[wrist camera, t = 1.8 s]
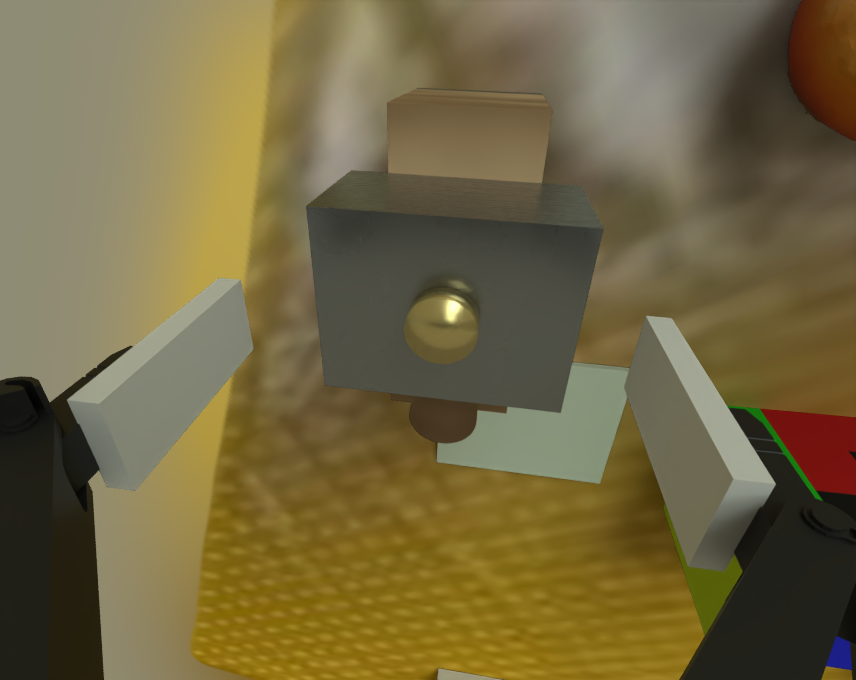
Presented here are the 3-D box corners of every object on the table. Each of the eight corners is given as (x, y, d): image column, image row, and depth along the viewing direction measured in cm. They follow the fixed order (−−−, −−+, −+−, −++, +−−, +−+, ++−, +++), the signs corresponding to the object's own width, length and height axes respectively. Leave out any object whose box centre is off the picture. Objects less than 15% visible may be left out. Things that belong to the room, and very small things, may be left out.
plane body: (418, 88, 24) (366, 112, 15) (542, 94, 23) (560, 123, 14) (413, 332, 31) (377, 439, 23) (507, 341, 30) (505, 456, 22)
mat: (633, 368, 30) (635, 372, 30) (598, 479, 35) (599, 483, 35) (443, 348, 31) (443, 351, 31) (437, 458, 37) (436, 462, 36)
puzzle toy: (807, 523, 35) (902, 677, 26) (662, 507, 36) (709, 648, 28) (875, 418, 29) (1022, 568, 21) (703, 402, 31) (776, 538, 22)
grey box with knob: (582, 185, 18) (609, 240, 13) (551, 341, 22) (563, 431, 17) (351, 170, 19) (293, 215, 14) (359, 322, 23) (315, 401, 18)
